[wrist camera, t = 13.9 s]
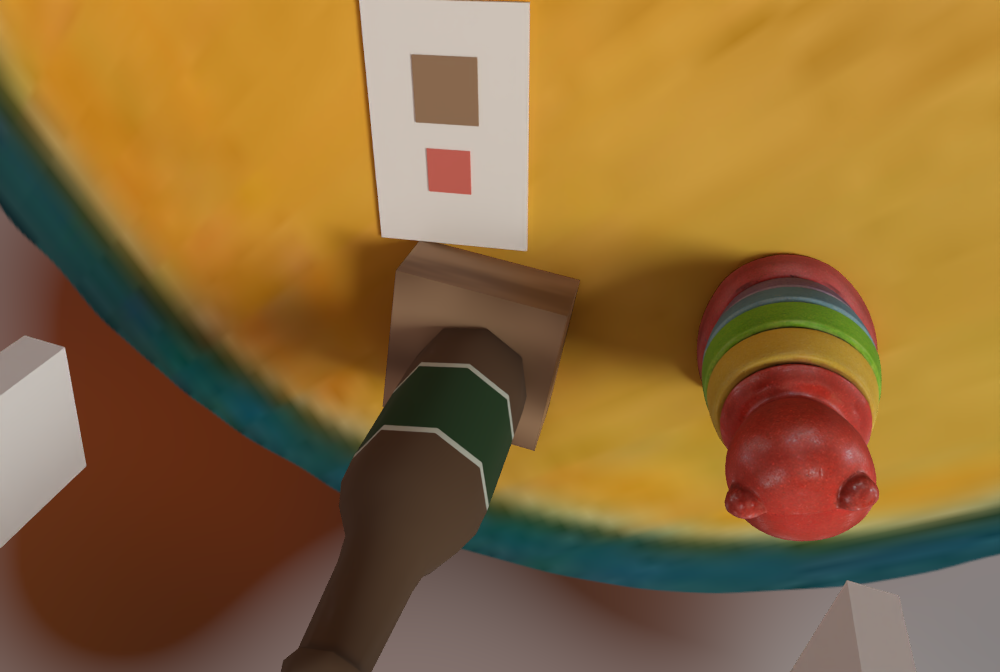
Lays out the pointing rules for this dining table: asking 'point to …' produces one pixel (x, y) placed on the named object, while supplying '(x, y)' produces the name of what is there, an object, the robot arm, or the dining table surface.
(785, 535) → the stacking bear
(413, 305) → the walnut base brick
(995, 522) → the dining table surface
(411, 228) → the page
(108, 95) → the dining table surface
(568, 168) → the dining table surface
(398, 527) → the beer bottle
